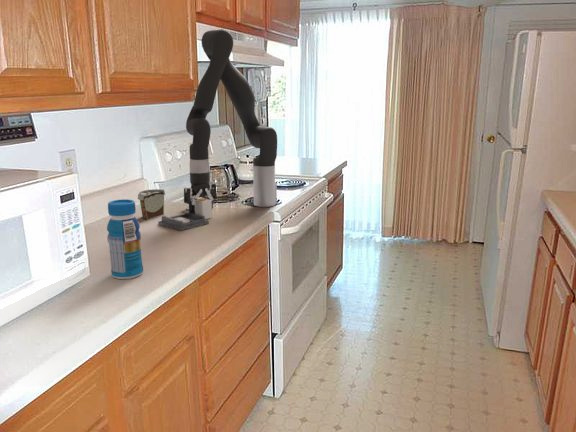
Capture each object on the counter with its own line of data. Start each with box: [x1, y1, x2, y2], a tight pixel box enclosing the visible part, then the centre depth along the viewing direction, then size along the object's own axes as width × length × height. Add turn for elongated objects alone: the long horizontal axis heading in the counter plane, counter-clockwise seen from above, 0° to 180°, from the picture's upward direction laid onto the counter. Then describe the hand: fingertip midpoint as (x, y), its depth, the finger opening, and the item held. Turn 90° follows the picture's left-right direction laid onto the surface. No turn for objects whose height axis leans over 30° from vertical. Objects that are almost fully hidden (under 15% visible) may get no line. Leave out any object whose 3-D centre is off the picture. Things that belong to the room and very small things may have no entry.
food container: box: [137, 188, 166, 221], centre depth 189 cm, size 12×6×10 cm, turn 152°
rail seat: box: [157, 210, 210, 232], centre depth 179 cm, size 13×13×3 cm
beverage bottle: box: [106, 198, 144, 280], centre depth 128 cm, size 8×8×20 cm
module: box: [194, 197, 213, 220], centre depth 189 cm, size 4×7×7 cm, turn 49°
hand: (201, 212), depth 189 cm, fingers open, 8 cm apart
